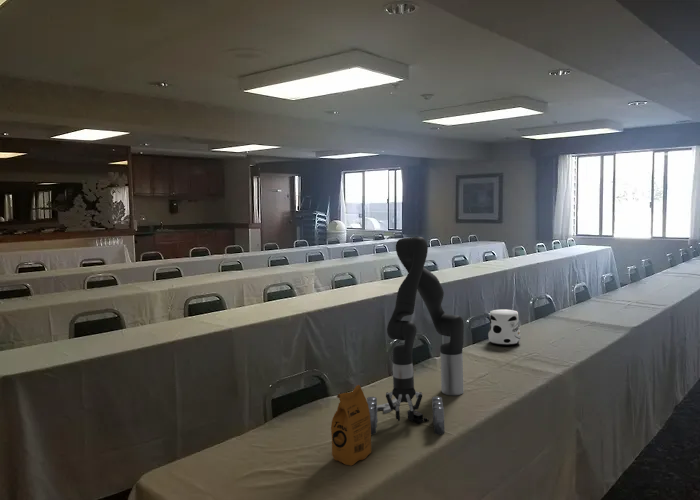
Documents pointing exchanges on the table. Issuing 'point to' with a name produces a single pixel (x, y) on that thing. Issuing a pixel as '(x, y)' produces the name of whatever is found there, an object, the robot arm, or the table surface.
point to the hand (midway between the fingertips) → (404, 419)
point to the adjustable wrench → (386, 406)
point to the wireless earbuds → (417, 417)
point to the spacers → (437, 414)
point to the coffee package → (351, 428)
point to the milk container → (504, 327)
